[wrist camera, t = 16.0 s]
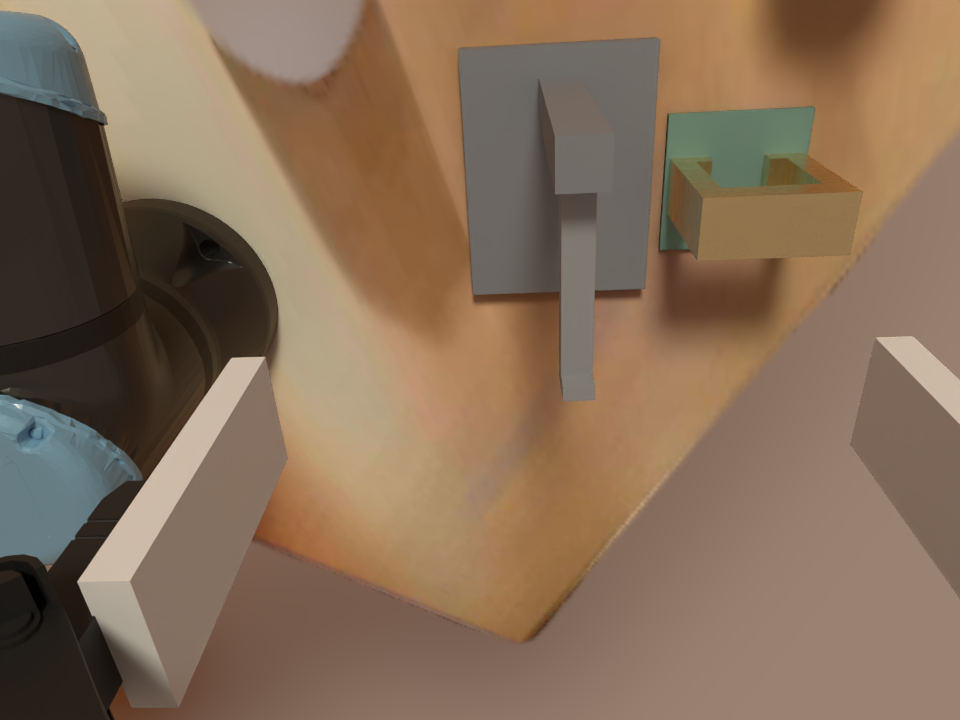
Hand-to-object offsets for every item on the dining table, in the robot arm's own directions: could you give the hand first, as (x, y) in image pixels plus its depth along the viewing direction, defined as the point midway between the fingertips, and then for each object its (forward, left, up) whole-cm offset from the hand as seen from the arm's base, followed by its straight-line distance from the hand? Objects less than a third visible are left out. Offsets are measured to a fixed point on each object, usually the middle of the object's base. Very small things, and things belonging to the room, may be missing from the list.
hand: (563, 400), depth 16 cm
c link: (+13, -5, -34) cm, 37 cm away
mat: (+13, -5, -35) cm, 38 cm away
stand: (+2, -4, -35) cm, 35 cm away
